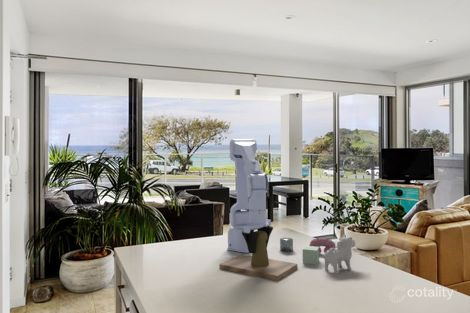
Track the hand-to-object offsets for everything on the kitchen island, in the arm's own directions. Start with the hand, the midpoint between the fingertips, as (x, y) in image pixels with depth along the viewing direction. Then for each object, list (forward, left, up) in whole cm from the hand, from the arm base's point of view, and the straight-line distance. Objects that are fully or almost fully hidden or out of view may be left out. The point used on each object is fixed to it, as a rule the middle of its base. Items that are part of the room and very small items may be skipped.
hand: (258, 250), depth 125 cm
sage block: (+12, +16, -6) cm, 21 cm away
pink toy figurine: (+12, +27, -6) cm, 30 cm away
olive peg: (+1, 0, -5) cm, 5 cm away
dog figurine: (+23, +14, -6) cm, 28 cm away
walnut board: (0, 0, -6) cm, 6 cm away
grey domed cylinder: (-2, +25, -6) cm, 26 cm away
